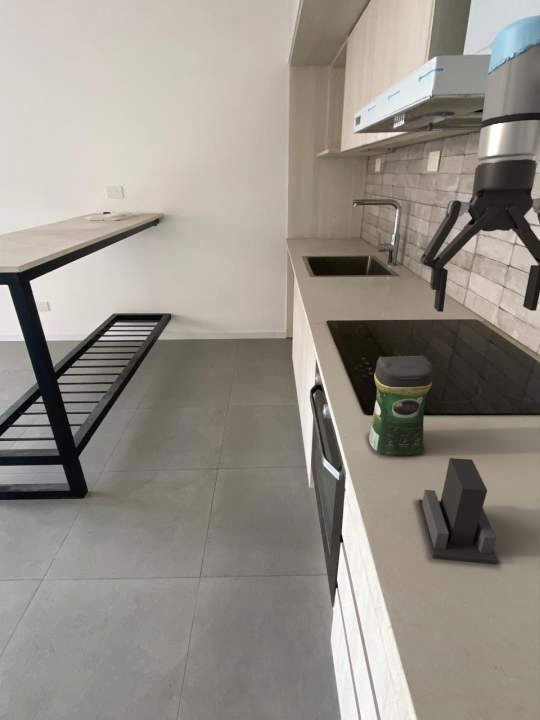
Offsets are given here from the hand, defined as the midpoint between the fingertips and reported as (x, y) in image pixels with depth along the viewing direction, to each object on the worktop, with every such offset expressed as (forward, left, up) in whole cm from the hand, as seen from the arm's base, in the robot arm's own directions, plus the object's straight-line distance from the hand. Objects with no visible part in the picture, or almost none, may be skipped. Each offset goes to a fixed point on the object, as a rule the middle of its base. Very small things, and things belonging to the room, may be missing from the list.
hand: (483, 309), depth 63 cm
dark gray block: (+5, +20, -26) cm, 34 cm away
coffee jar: (+11, 0, -28) cm, 30 cm away
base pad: (+5, +20, -28) cm, 35 cm away
